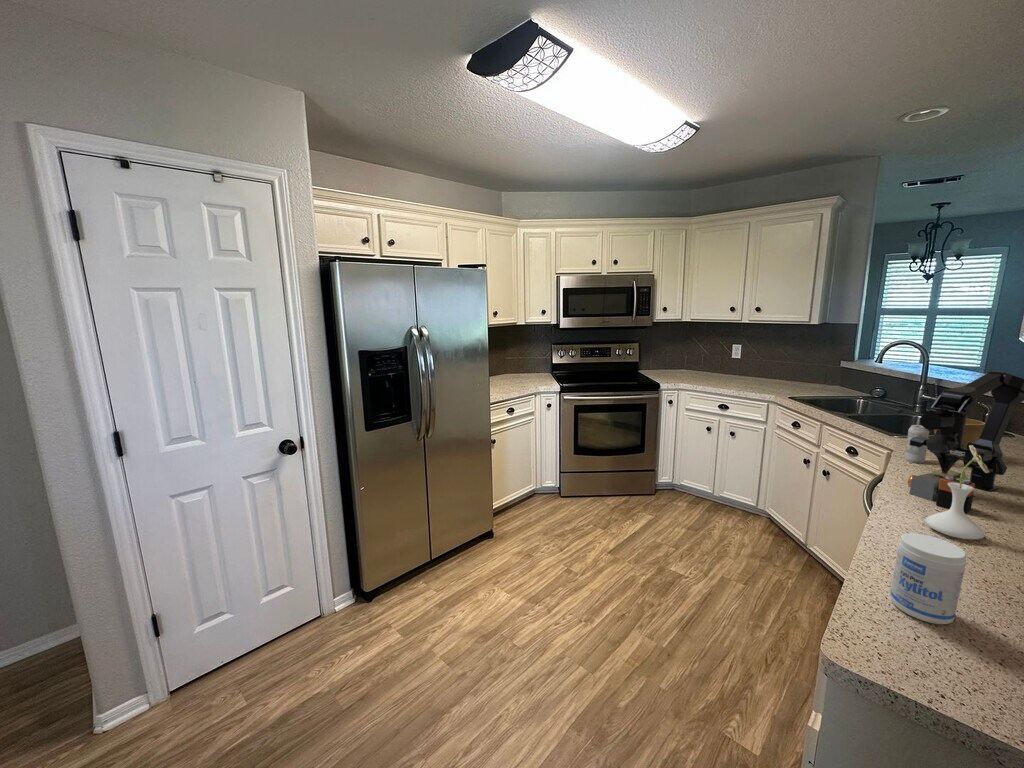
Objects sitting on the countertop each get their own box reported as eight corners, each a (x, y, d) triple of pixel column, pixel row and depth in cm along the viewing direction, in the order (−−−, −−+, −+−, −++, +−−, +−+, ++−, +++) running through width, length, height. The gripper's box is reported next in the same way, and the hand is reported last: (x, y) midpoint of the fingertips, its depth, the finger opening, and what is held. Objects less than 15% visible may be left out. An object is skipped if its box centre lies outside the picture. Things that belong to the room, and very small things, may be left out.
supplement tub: (890, 612, 85) (900, 546, 82) (888, 588, 92) (897, 527, 89) (959, 634, 78) (971, 564, 76) (951, 607, 86) (962, 542, 83)
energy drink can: (928, 463, 167) (934, 428, 165) (913, 463, 167) (918, 428, 165) (914, 458, 173) (919, 424, 171) (900, 458, 173) (905, 424, 171)
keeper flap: (943, 471, 143) (944, 468, 143) (960, 475, 139) (961, 473, 139) (931, 473, 141) (931, 470, 141) (948, 478, 137) (948, 475, 137)
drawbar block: (938, 487, 145) (940, 470, 144) (961, 493, 139) (963, 476, 138) (909, 493, 140) (911, 477, 139) (931, 501, 134) (934, 483, 133)
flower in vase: (974, 548, 107) (991, 456, 103) (916, 528, 117) (930, 444, 113) (992, 535, 113) (1009, 448, 109) (936, 518, 123) (949, 437, 119)
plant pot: (970, 454, 178) (976, 418, 175) (985, 464, 165) (991, 426, 163) (923, 449, 186) (928, 414, 183) (933, 458, 173) (939, 421, 171)
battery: (965, 514, 125) (971, 483, 123) (935, 505, 131) (939, 475, 129) (971, 511, 127) (976, 480, 125) (940, 502, 133) (945, 473, 131)
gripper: (902, 423, 143) (896, 466, 146) (976, 437, 126) (968, 486, 128) (922, 420, 147) (916, 462, 149) (997, 434, 129) (988, 481, 132)
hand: (944, 472), depth 139 cm, fingers closed, pressing on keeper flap
